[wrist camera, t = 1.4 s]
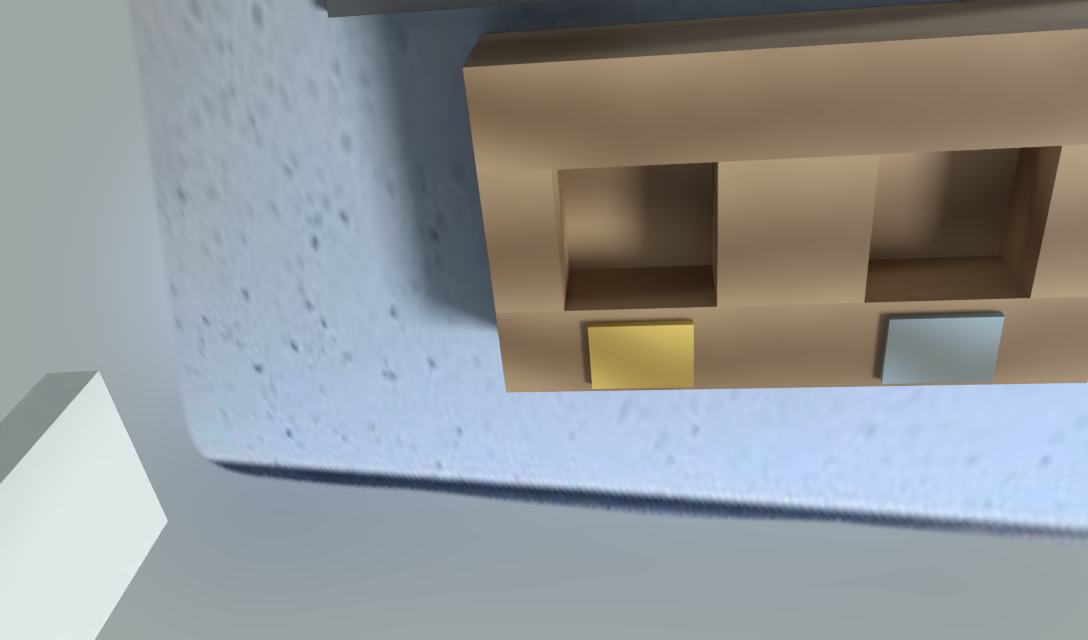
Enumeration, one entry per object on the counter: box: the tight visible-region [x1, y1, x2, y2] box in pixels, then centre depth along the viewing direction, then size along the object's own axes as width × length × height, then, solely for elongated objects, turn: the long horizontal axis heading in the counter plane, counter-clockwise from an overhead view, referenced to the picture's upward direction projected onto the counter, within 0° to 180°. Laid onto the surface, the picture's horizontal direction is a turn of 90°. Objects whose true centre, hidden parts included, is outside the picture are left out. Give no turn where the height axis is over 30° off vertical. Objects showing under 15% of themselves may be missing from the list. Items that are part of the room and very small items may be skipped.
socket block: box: [463, 0, 1088, 392], centre depth 31 cm, size 12×20×4 cm, turn 95°
